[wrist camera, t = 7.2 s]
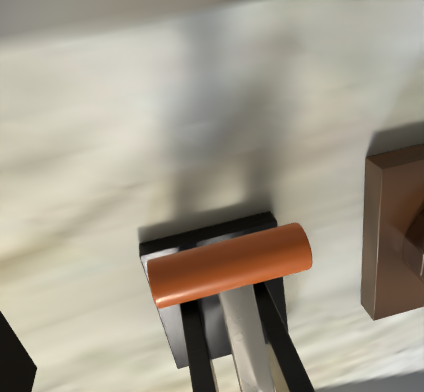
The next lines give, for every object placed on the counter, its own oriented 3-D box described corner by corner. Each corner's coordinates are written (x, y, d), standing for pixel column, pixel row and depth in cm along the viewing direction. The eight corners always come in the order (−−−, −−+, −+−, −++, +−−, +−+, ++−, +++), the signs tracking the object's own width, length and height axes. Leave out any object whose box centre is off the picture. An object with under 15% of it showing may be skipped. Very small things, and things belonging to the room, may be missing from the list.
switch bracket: (138, 243, 22) (148, 537, 10) (270, 210, 23) (423, 451, 11) (175, 354, 27) (211, 640, 15) (283, 325, 28) (398, 577, 16)
